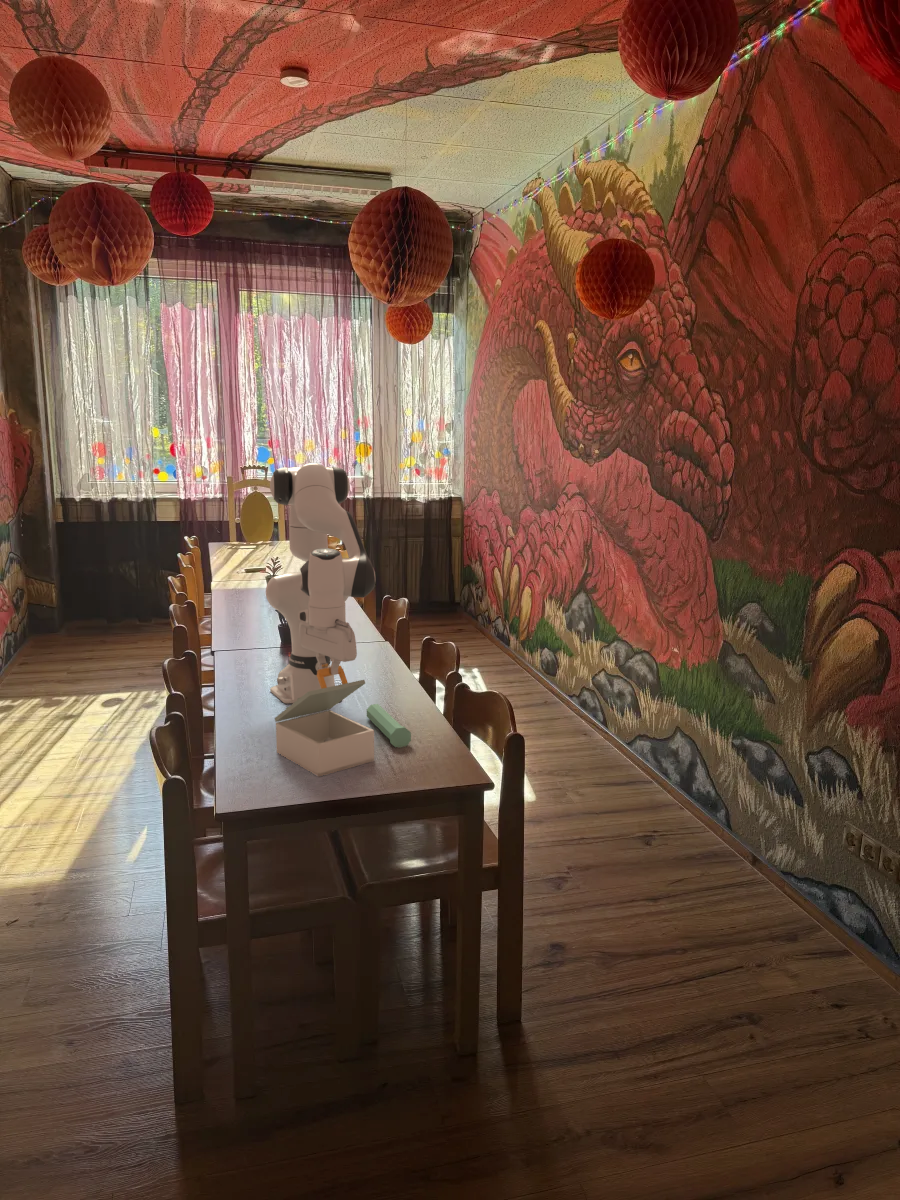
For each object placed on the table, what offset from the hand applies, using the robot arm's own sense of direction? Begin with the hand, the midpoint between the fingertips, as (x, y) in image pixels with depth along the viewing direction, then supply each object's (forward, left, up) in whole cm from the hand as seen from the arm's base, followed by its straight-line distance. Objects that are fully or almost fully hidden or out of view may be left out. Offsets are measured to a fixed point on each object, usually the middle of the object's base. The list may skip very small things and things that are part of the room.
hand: (328, 672), depth 210 cm
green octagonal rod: (-8, +23, -23) cm, 33 cm away
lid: (-4, 0, -9) cm, 10 cm away
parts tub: (-2, 0, -23) cm, 23 cm away
